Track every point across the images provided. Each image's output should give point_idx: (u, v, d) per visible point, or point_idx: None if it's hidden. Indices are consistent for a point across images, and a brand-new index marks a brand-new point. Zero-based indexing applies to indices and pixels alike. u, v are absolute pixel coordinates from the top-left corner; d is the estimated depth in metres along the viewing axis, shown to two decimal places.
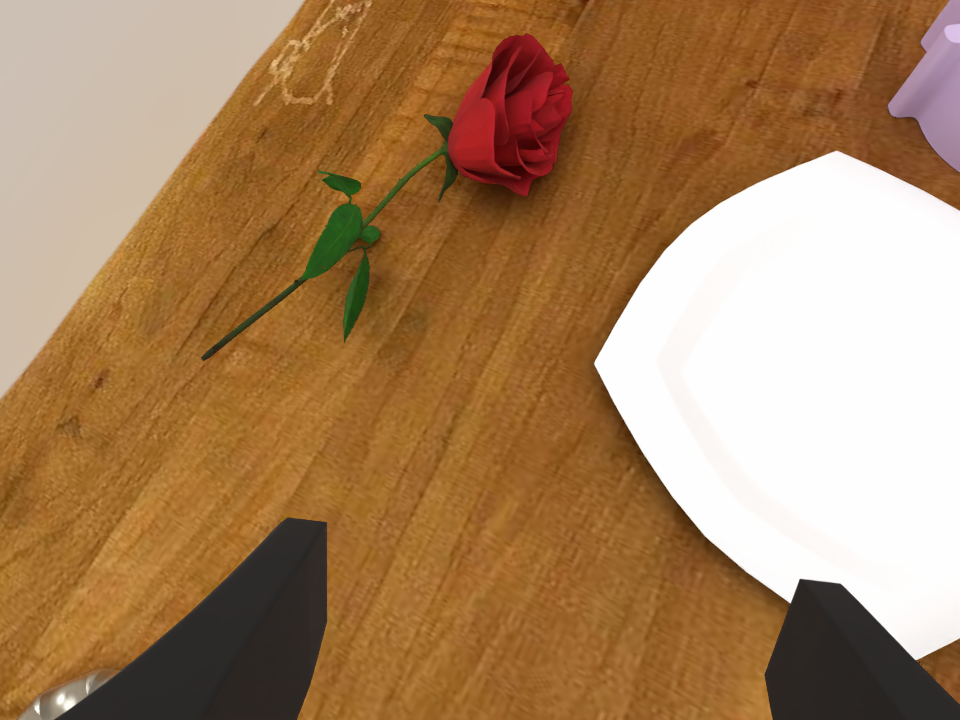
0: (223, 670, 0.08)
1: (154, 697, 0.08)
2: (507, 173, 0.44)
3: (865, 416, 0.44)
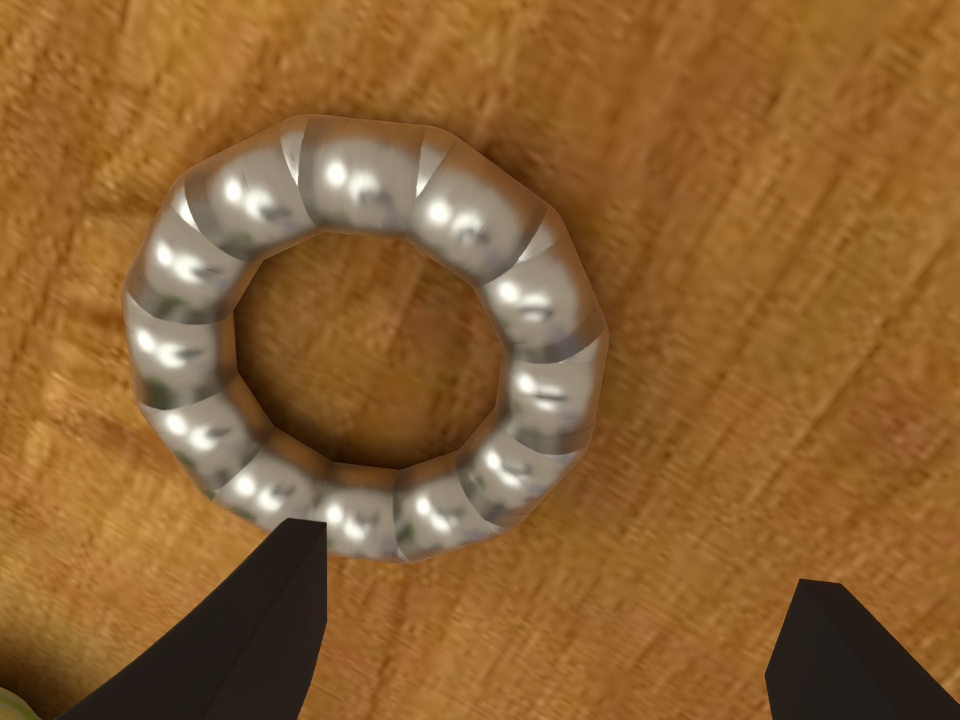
0: (223, 669, 0.08)
1: (154, 697, 0.08)
2: None
3: None
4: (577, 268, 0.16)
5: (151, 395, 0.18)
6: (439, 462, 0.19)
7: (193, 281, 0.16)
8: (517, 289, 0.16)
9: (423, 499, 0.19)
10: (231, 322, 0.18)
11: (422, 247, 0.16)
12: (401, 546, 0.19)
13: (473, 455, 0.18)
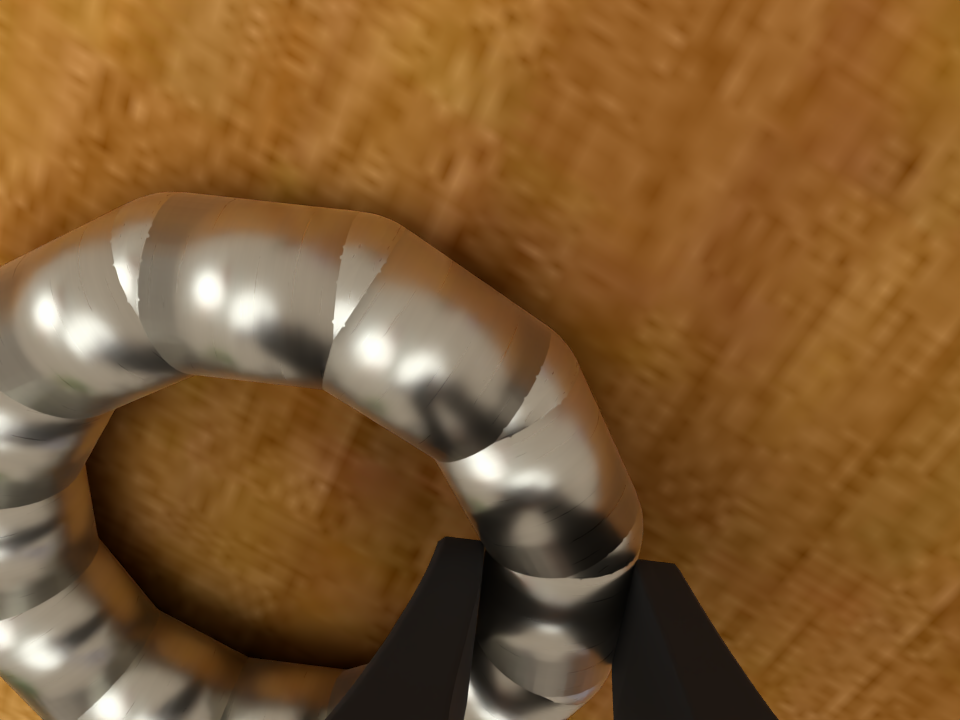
0: (444, 697, 0.08)
1: None
2: None
3: None
4: (596, 432, 0.10)
5: None
6: None
7: None
8: (502, 471, 0.10)
9: None
10: (78, 489, 0.12)
11: (350, 404, 0.10)
12: None
13: None
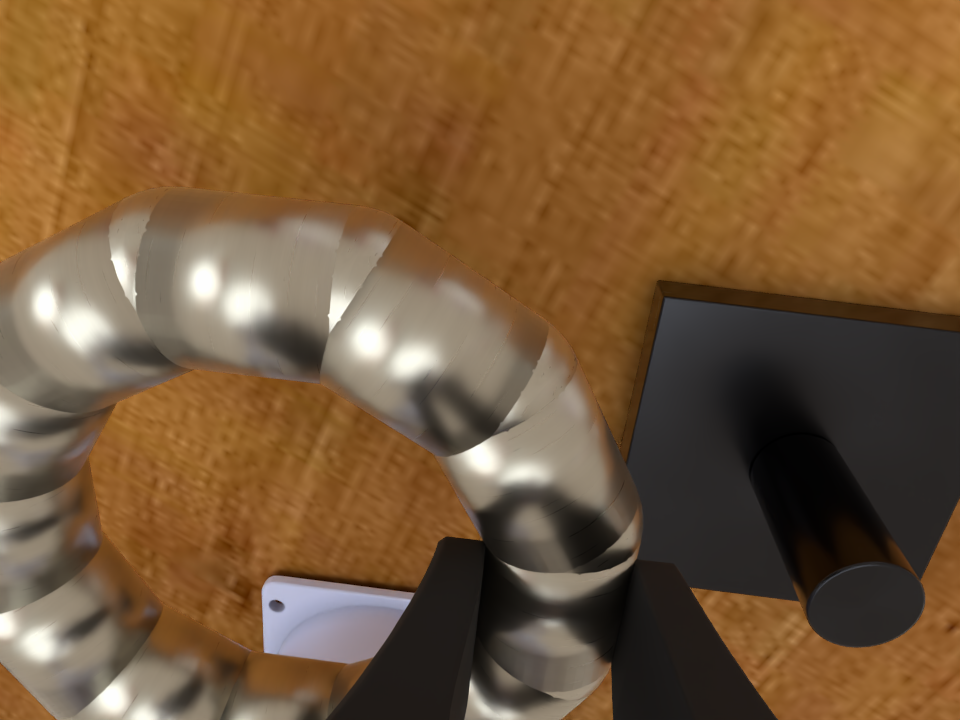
0: (444, 697, 0.08)
1: None
2: None
3: None
4: (594, 427, 0.10)
5: None
6: None
7: None
8: (499, 465, 0.10)
9: None
10: (80, 483, 0.12)
11: (347, 398, 0.10)
12: None
13: None
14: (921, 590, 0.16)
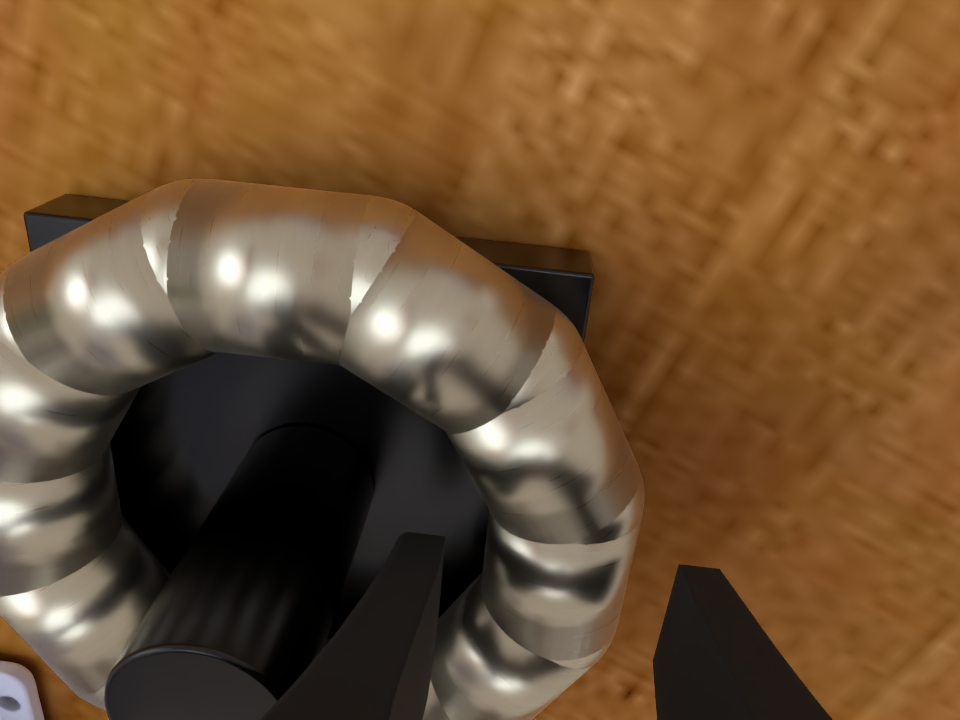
0: (388, 690, 0.08)
1: (330, 719, 0.08)
2: None
3: None
4: (599, 405, 0.11)
5: None
6: None
7: (26, 428, 0.11)
8: (509, 441, 0.10)
9: None
10: (104, 465, 0.13)
11: (366, 379, 0.10)
12: None
13: (450, 647, 0.13)
14: (270, 692, 0.09)
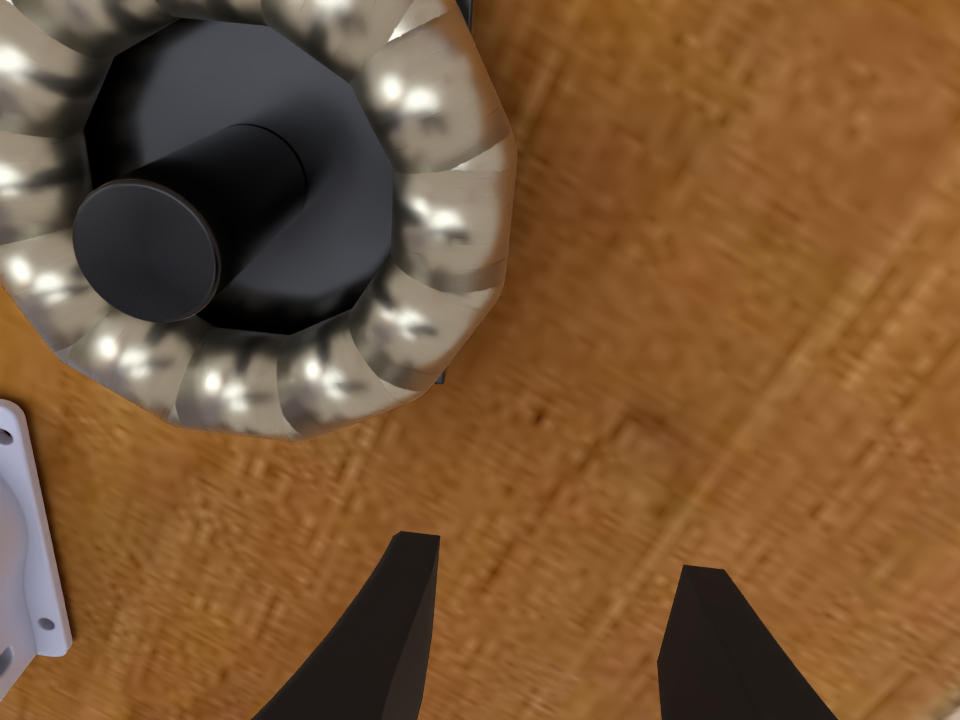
0: (381, 689, 0.08)
1: (323, 718, 0.08)
2: None
3: None
4: (471, 54, 0.14)
5: None
6: (333, 319, 0.17)
7: (13, 74, 0.14)
8: (396, 73, 0.13)
9: (311, 358, 0.16)
10: (79, 145, 0.15)
11: (282, 25, 0.13)
12: (287, 414, 0.16)
13: (366, 302, 0.16)
14: (199, 222, 0.12)
